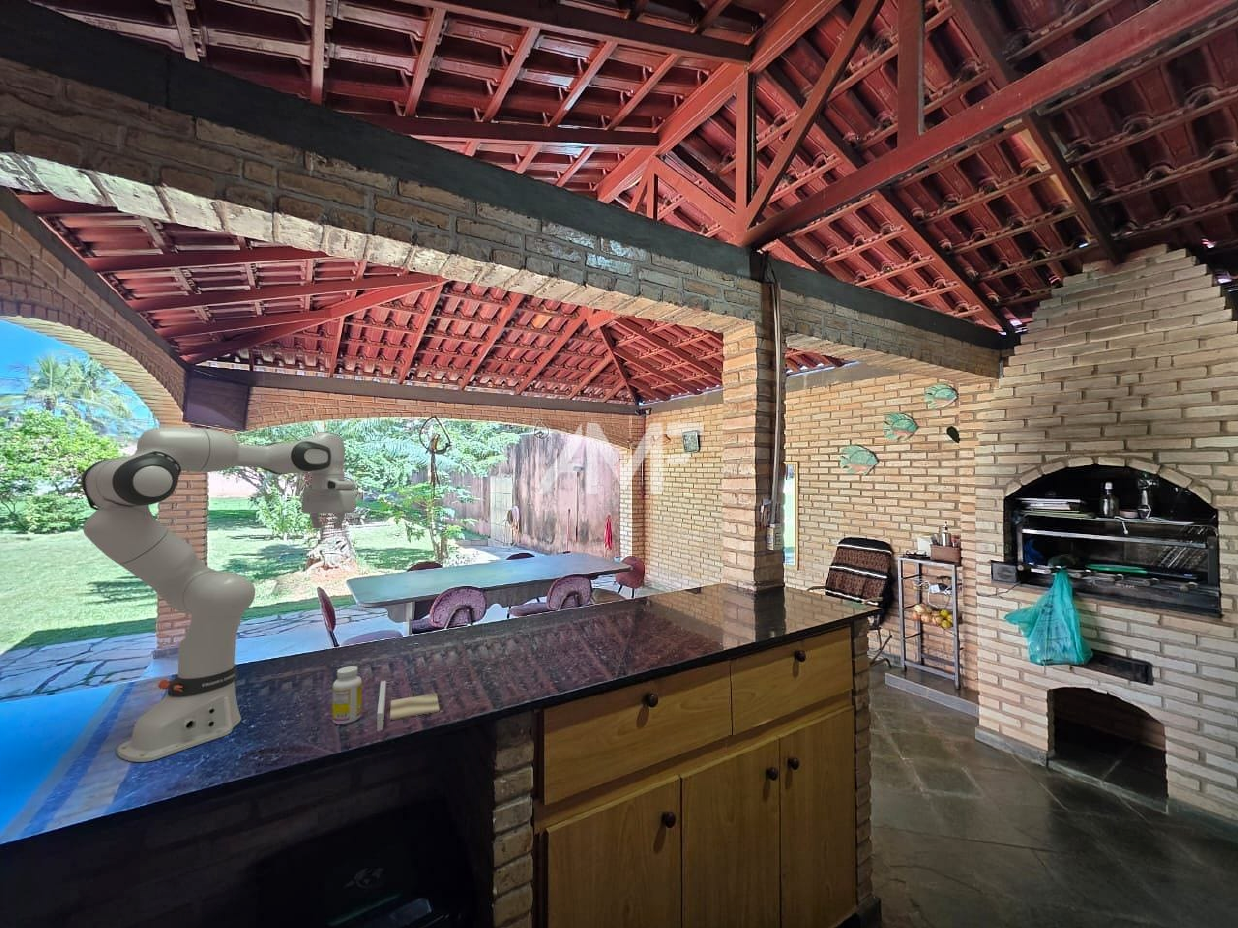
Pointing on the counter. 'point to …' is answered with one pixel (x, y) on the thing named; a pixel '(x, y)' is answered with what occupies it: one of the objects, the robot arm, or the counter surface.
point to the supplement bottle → (347, 696)
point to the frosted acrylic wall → (381, 706)
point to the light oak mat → (414, 706)
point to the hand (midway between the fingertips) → (327, 528)
